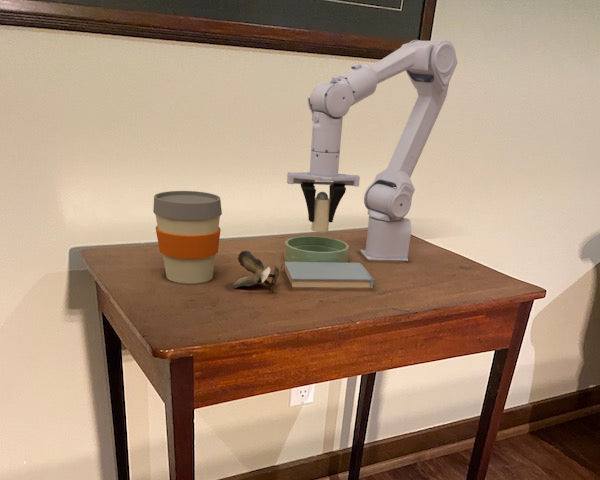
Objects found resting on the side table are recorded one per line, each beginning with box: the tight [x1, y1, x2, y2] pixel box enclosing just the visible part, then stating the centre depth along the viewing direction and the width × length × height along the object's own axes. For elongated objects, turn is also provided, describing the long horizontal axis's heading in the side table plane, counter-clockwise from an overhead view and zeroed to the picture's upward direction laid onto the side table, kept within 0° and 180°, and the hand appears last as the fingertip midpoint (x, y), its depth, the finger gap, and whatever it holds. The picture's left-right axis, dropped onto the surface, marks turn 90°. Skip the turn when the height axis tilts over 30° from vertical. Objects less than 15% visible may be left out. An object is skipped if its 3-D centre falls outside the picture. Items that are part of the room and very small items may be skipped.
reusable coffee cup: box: [152, 190, 223, 285], centre depth 117 cm, size 13×13×15 cm
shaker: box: [311, 191, 331, 233], centre depth 127 cm, size 4×4×8 cm
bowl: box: [283, 235, 350, 263], centre depth 133 cm, size 14×14×4 cm
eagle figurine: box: [231, 250, 284, 293], centre depth 115 cm, size 8×7×9 cm
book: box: [283, 261, 375, 289], centre depth 122 cm, size 16×11×2 cm
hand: (320, 221), depth 128 cm, fingers closed on shaker, 3 cm apart
